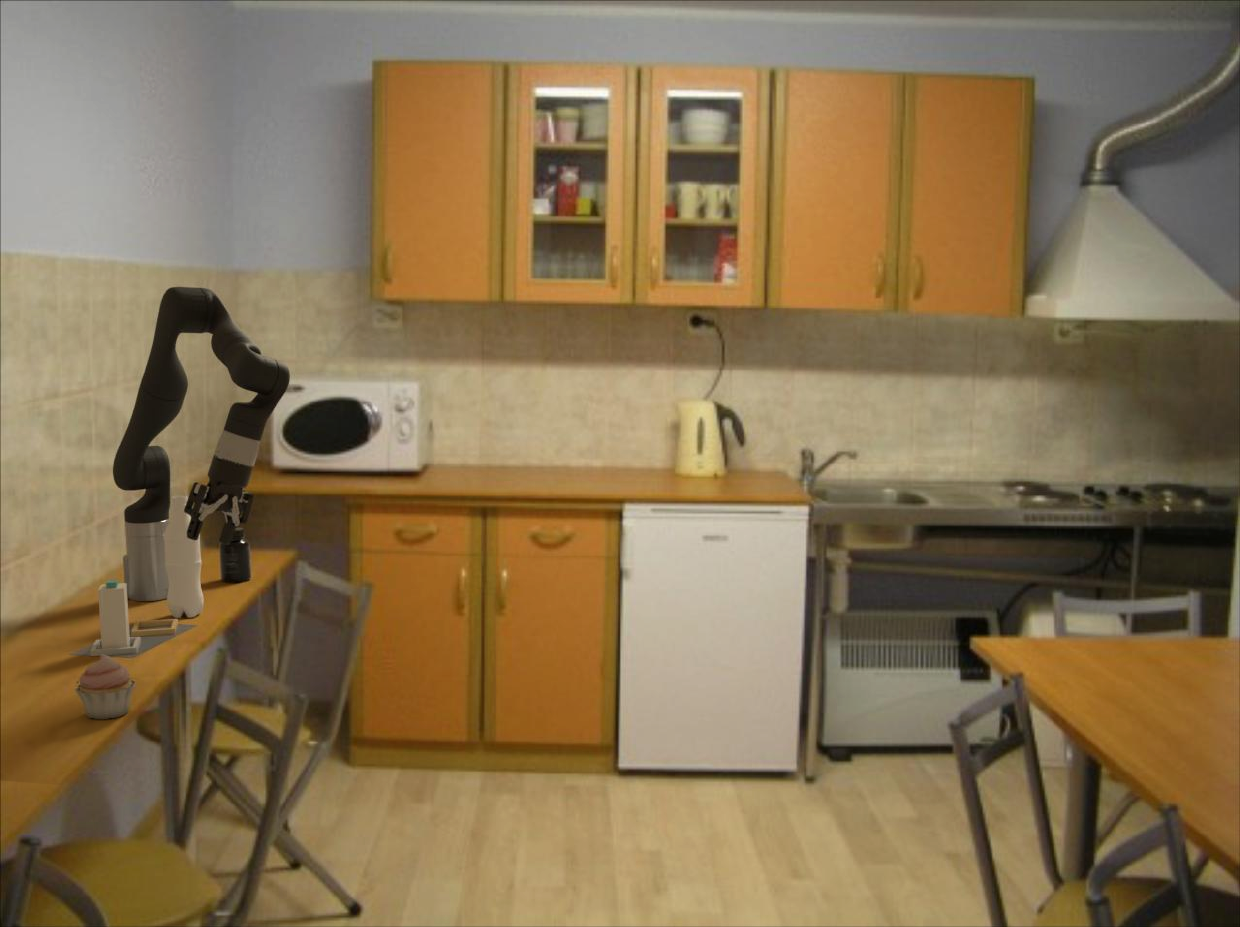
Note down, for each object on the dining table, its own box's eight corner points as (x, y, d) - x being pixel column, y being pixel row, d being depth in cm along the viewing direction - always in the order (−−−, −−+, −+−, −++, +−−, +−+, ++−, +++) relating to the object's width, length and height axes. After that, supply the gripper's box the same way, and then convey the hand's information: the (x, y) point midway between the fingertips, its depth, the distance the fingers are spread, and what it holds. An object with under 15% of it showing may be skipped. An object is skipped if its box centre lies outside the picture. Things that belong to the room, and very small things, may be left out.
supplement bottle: (257, 578, 322) (255, 528, 320) (235, 584, 316) (232, 532, 315) (237, 575, 326) (234, 525, 324) (214, 581, 320) (211, 530, 318)
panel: (68, 658, 257) (67, 649, 256) (140, 624, 281) (139, 617, 280) (132, 661, 254) (131, 652, 254) (199, 627, 278) (198, 619, 278)
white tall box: (102, 652, 258) (97, 584, 256) (105, 646, 262) (100, 579, 260) (127, 651, 259) (123, 583, 257) (130, 644, 263) (126, 577, 261)
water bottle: (193, 620, 284) (187, 500, 280) (161, 619, 285) (154, 499, 282) (210, 612, 291) (204, 494, 287) (179, 610, 292) (172, 493, 289)
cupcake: (90, 705, 229) (86, 646, 227) (146, 705, 228) (143, 646, 227) (66, 723, 219) (62, 662, 218) (124, 723, 219) (120, 662, 218)
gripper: (246, 458, 267) (220, 539, 267) (193, 447, 254) (166, 531, 254) (274, 469, 263) (248, 550, 263) (222, 458, 251) (194, 543, 251)
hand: (208, 541), depth 259 cm, fingers open, 8 cm apart
